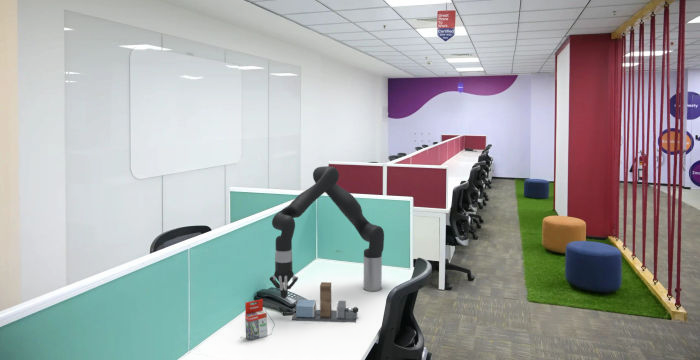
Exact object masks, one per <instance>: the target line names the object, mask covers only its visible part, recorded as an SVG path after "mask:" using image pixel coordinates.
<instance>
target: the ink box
mask: <svg viewBox="0 0 700 360" xmlns="http://www.w3.org/2000/svg"><path fill="white" fill-rule="evenodd" d="M263 304H264V299H263V298H260V299H257V300H252V301H251V300H250V301H247V302H245V307H244V308H245V314H244V315H245V316H244V317H245V318H244V319H245V322H244V323H245V338H246V339H247V340H248V341H253V340H257V339H259V338H264V337H267V336H268V320H267V319H268V316H267V312H266V311H265V310H264V305H263Z"/></svg>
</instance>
